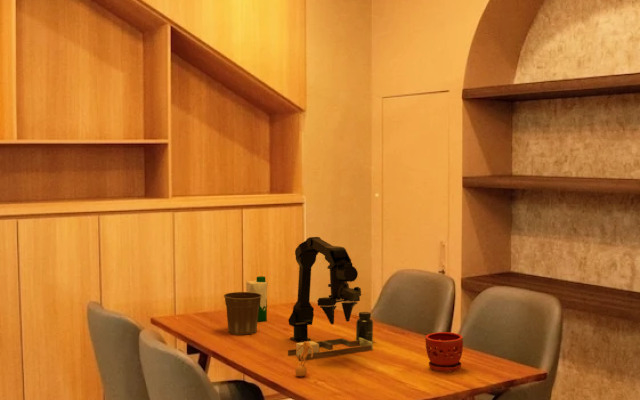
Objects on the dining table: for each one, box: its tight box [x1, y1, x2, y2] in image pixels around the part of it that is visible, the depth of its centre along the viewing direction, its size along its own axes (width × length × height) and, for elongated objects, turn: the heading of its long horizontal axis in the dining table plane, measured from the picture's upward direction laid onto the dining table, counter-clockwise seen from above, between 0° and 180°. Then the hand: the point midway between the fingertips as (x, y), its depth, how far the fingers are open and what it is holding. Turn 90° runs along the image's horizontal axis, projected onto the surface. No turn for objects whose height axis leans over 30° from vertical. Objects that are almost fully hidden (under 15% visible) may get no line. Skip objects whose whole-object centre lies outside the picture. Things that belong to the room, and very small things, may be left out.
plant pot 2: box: [425, 331, 464, 373], centre depth 276 cm, size 13×13×12 cm
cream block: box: [295, 340, 320, 358], centre depth 293 cm, size 5×7×5 cm
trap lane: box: [287, 338, 374, 362], centre depth 301 cm, size 15×33×3 cm, turn 120°
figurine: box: [295, 341, 313, 378], centre depth 267 cm, size 8×6×12 cm
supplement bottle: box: [355, 311, 374, 342], centre depth 315 cm, size 7×7×12 cm
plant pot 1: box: [223, 291, 262, 336], centre depth 332 cm, size 16×16×16 cm
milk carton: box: [245, 275, 268, 323], centre depth 355 cm, size 9×9×20 cm
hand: (340, 322), depth 289 cm, fingers open, 9 cm apart
